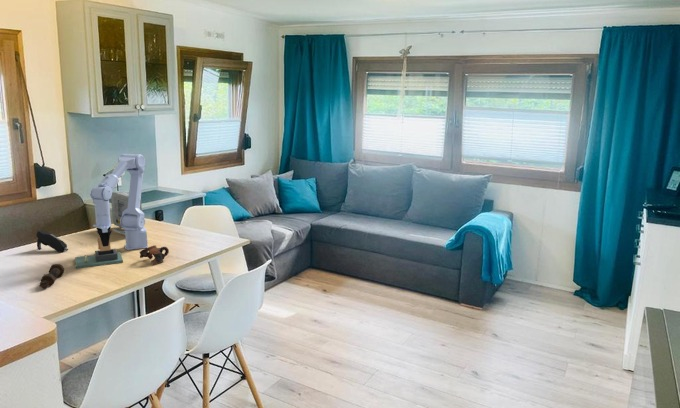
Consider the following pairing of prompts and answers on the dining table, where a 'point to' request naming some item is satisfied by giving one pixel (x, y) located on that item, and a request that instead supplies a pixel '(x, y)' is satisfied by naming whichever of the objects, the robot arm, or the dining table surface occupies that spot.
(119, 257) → the header board
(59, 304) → the dining table surface
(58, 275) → the bolt
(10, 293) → the dining table surface
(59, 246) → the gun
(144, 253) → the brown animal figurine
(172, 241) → the dining table surface
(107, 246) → the plug
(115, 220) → the network device
